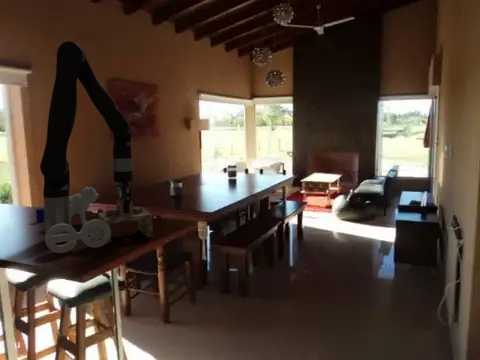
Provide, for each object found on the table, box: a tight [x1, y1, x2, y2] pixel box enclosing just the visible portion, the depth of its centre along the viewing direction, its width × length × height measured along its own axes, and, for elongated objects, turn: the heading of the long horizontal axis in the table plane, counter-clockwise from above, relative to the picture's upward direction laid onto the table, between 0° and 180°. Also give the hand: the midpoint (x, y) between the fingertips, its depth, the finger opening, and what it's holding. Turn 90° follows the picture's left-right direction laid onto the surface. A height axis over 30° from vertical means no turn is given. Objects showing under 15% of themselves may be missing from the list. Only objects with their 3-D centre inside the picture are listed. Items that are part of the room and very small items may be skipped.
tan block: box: [116, 200, 134, 217], centre depth 164 cm, size 5×6×7 cm
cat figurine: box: [43, 186, 101, 227], centre depth 182 cm, size 25×10×17 cm, turn 129°
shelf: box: [97, 206, 154, 244], centre depth 164 cm, size 18×14×11 cm
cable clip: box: [35, 208, 45, 223], centre depth 196 cm, size 12×4×6 cm, turn 174°
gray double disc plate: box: [44, 218, 112, 254], centre depth 146 cm, size 22×2×10 cm, turn 123°
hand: (124, 211), depth 164 cm, fingers closed on tan block, 5 cm apart
